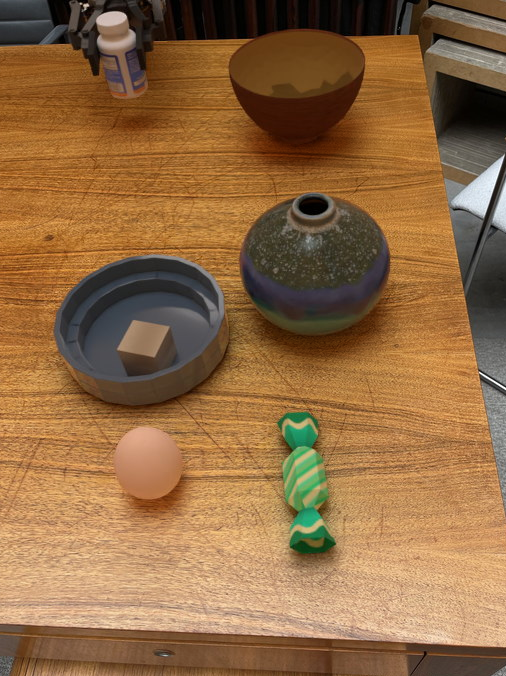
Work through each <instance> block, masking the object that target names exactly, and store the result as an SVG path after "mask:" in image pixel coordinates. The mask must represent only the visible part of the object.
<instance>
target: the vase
mask: <svg viewBox="0 0 506 676" xmlns="http://www.w3.org/2000/svg"><path fill="white" fill-rule="evenodd" d="M240 247H241V248H240V252H239V258H238V267H239V276H240V281H241V284H242V288H243V290H244V292H245V294H246V296H247V298H248V300H249V302H250V303H251V305H252V306H253V307H254V308H255V310H256V311H257V312H258V313H259V314H260V315H261V316H262V317H263V318H264V319H265V320H267V321H268V322H269V323H271V324H272V325H274V326H276V327H278V329H279V328H280V329H282V330H284V331H286V332H289V333H292V334H296V335H301V336H311V337H316V336H327V335H332V334H336V333H339V332H341V331H345V330H347V329H349V328H351V327H352V326H354V325H356V324H357V323H359V322H361V320H363V319H365V317H367V316H368V315H369V314H370V313H371V311H372V310H373V309H374V308H375V307H376V306H377V304H378V303H379V302H380V300H381V298H382V296H383V294H384V292H385V290H386V288H387V285H388V281H389V277H390V273H391V252H390V246H389V243H388V239H387V237H386V234H385V233H384V230H383V228H382V227H381V226H380V224H379V223H378V222H377V221H376V219H375V218H374V217H373V216H372V215H371V214H370V213H368V212H367V211H366V210H365V209H364V208H362V207H360V206H359V205H357V204H355V203H353V202H351V201H350V200H346V199H344V198H341V197H337V196H332V195H327V194H325V193H322V192H315V191H313V192H306V193H303V194H300V195H299V196H295V197H292V198H289V199H285V200H282V201H281V202H278V203H276V204H275V205H273V206H271V207H269V208H268V209H267V210H265V211H264V212H262V214H261V215H260V216H258V218H257V219H255V221H254V222H253V223H252V225H251V226H250V227H249V229H248V230H247V231H246V234H245V236H244V238H243V241H242V243H241V246H240Z"/></svg>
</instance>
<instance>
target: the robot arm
mask: <svg viewBox="0 0 506 676" xmlns="http://www.w3.org/2000/svg"><path fill="white" fill-rule="evenodd" d="M68 4H69V8H70V17H69V23H68V27H67V34H68V36H69V40H70V44H71V46H72V50H73V51H76V52H77V51H80V50H81V53H82V55H83V58H84V59H85V60H88V63H89V66H90V70H91V73H92V77H98V76H100V69H101V68H100V66H101V58H100V54H99V51H98V47H97V39H98V37H99V35H100V33H99V31H98V28H97V23H96V19H97V18H98V17H99V16H100V15H102V14H104V13H107V12H122V13H124V14H125V15H126V16H127V19H128V23H129V25H130V26H131V27H132V28H134V29H135V34H136V52H137V56H138V61H139V65H140V70H145V71H147V53H151V52H153V51H154V50H155V49H154V47H155V46H154V42H155V41H154V40H156V39H157V40H158V41H161V42H162V41H166V40H167V39H168V36H167V30H166V24H165V23H166V22H165V17H164V16H165V14H166V13H167V11H168V10H167V4H166V0H87V3H84V2H78V0H70V1H69V2H68ZM148 8H149V9H150V10H152V14H153V20H154V23H151V21H150V16H147V17H146V15H145V14H144V12H145V11H147V10H148ZM90 14H91V15H90ZM89 15H90V16H89ZM88 17H89V18H88Z"/></svg>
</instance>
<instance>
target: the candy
mask: <svg viewBox="0 0 506 676" xmlns="http://www.w3.org/2000/svg"><path fill="white" fill-rule="evenodd" d="M276 424H277V426H278V428H279V431H280V433H281V434H282V436H283V439H284V440H285V442H286V443H287V444H288V446H289V447H290V449H291V450H292V452H290V454H289V455H288V456H286V458H285V459H284V460H283V461H282V462H281V470H282V478H283V479H282V480H283V489H284V499H285V503H287V504H288V505H289V506H290V507H291V508H292V509H294V511H297V512H298V513H297V514H296V517H295V518H294V520H293V522H292V523H291V525H290V528H289V530H290V531H289V548H290V549H291V550H293V551H295V552H296V553H299V554H301V555H307V554H321V553H326V552H327V551H329V550H330V549H332V548H333V547H335V546H336V545H337V542H336V540H335V538H334V536H333V534H332V532H331V529H330V528H329V526H328V524H327V523H326V521H325V519H323V517H322V515H321V514H320V513H319V511H318V510H319V509H320V508H321V506H322V505H323V504H324V503H325V502H326V501H327V500H328V499H329V498H330V497H329V496H330V495H329V490H328V483H327V476H326V475H327V474H326V469H325V462H324V458H323V457H322V456H321V455H320V454H319V452H318V451H317V450H316V449H314V448H312V447H313V446H314V444H315V442H316V441H317V439H318V437H319V420H318V419H317V418H316V417H314V415H312V414H311V413H310V412H309V411H299V412H298V411H293V412H286V413H285V414H284V415H283V416H281V418H280V419H279V420H278V421H276Z"/></svg>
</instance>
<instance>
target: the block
mask: <svg viewBox="0 0 506 676" xmlns="http://www.w3.org/2000/svg"><path fill="white" fill-rule="evenodd" d="M117 352H118V354H119V356H120V359H121V361H122V364H123V366H124V369H125V371H126V373H127V375H132V376H142V375H150V374H153V373H156V372H158V371H161V370H164V369H167V368H169V367H170V366H171V364H172V362H173V360H174V358H175V356H176V353H177V349H176V346H175V342H174V339H173V335H172V332H171V329H170V327H169V326H164V325H158V324H153V323H147V322H142V321H136V320H133V321H132V323H131V325H130V327H129V329H128V330H127V332H126V334H125V336H124V338H123V339H122V341H121V343H120V345H119V347H118V349H117Z"/></svg>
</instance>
